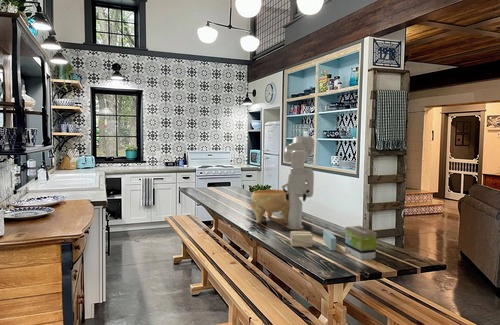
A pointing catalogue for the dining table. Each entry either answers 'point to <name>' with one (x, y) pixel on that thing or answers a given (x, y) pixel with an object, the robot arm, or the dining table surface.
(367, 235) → the tea box
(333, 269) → the dining table surface
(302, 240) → the maple brick
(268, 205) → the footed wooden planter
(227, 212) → the dining table surface
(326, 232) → the board
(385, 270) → the dining table surface
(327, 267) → the dining table surface
